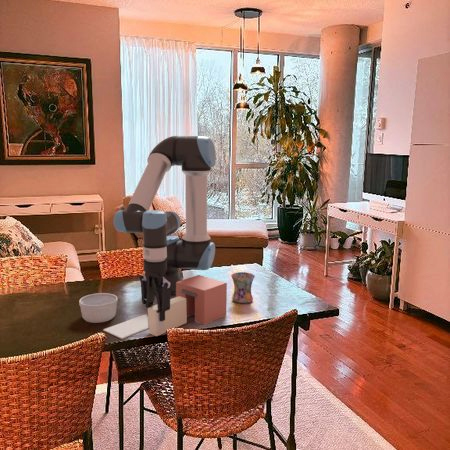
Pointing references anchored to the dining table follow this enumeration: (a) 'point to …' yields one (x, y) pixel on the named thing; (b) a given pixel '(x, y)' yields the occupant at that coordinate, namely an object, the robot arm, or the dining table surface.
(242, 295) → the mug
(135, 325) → the mat
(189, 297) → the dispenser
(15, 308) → the dining table surface
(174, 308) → the cream white block
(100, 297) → the ramekin
